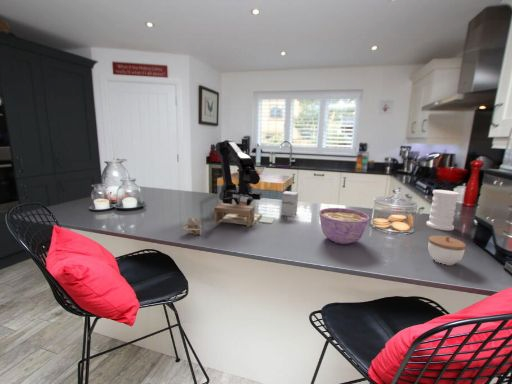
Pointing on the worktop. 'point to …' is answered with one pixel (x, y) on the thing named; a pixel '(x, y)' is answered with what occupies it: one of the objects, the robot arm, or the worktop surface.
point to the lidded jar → (446, 249)
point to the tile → (267, 220)
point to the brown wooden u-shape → (234, 212)
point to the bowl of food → (343, 224)
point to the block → (243, 204)
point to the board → (239, 218)
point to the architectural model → (194, 226)
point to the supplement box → (289, 203)
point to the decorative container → (443, 209)
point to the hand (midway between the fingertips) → (243, 210)
